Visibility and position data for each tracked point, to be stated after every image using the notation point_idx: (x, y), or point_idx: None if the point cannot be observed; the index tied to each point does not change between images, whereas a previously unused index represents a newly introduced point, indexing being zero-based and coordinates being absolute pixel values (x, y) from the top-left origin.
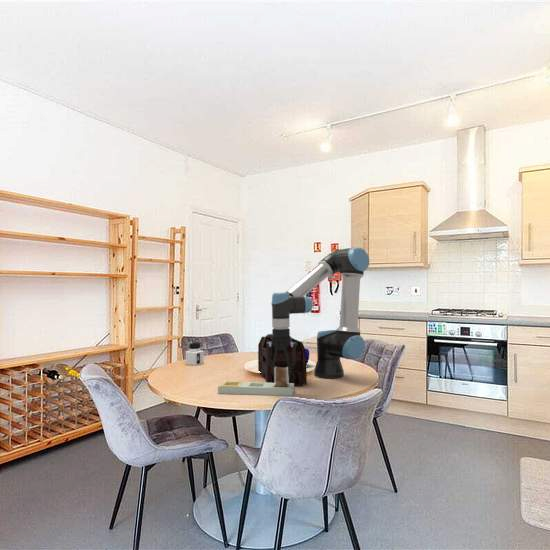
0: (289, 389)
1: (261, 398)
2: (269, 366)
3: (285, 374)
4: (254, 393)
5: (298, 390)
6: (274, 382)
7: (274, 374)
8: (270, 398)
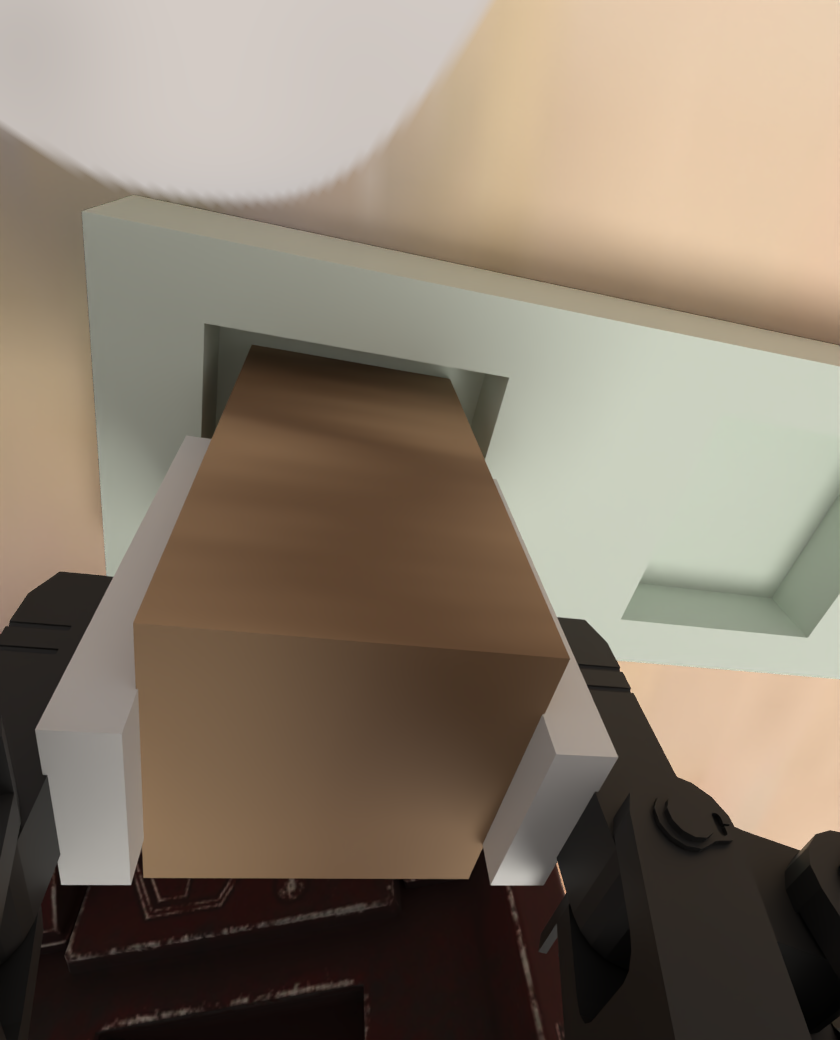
0: (156, 218)
1: (759, 34)
2: (560, 999)
3: (203, 516)
4: (801, 339)
5: (68, 530)
6: (496, 482)
7: (541, 591)
8: (586, 6)
